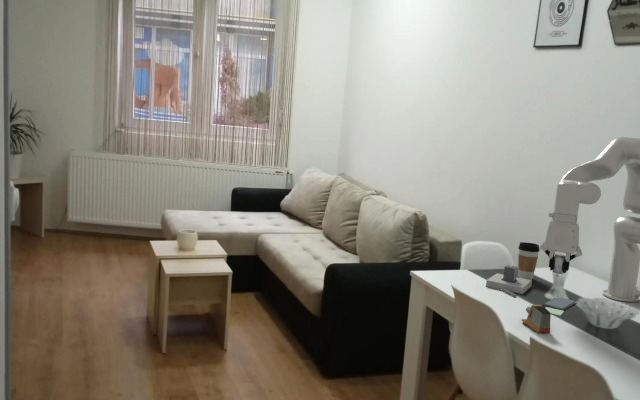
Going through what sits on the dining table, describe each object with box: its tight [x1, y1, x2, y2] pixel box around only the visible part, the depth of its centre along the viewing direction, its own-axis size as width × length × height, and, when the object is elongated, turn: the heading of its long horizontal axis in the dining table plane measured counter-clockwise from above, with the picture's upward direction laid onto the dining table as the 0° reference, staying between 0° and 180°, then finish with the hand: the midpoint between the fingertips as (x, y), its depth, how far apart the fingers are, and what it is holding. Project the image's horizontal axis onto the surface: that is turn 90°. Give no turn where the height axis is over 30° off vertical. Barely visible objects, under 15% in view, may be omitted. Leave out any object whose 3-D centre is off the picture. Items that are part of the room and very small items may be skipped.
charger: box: [503, 264, 518, 283], centre depth 233 cm, size 4×4×8 cm
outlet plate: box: [485, 272, 533, 295], centre depth 233 cm, size 14×14×2 cm
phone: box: [542, 297, 577, 311], centre depth 214 cm, size 7×14×1 cm, turn 138°
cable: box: [501, 289, 518, 298], centre depth 223 cm, size 8×1×1 cm, turn 19°
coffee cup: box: [517, 241, 541, 281], centre depth 246 cm, size 8×8×15 cm
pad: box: [545, 307, 565, 317], centre depth 204 cm, size 6×6×1 cm
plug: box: [552, 253, 566, 275], centre depth 202 cm, size 4×4×6 cm
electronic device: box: [521, 304, 552, 334], centre depth 186 cm, size 4×10×8 cm, turn 15°
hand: (558, 270), depth 202 cm, fingers closed on plug, 3 cm apart
